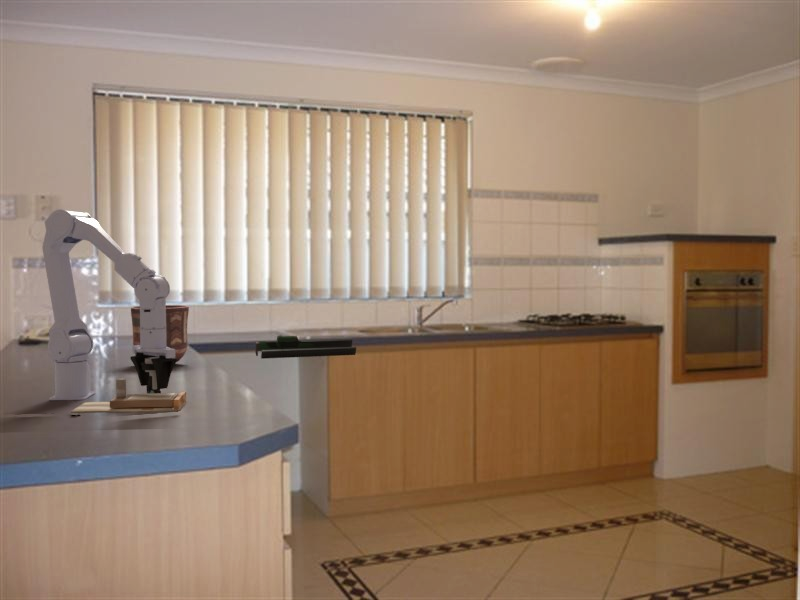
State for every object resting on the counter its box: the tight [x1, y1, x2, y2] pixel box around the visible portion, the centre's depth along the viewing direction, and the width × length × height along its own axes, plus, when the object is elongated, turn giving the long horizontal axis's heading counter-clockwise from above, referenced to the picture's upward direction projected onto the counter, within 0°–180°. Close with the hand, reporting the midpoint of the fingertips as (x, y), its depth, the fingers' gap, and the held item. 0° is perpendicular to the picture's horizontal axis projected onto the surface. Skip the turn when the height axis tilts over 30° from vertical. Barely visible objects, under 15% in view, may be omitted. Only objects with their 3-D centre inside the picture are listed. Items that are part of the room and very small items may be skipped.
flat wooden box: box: [70, 391, 187, 414], centre depth 172 cm, size 11×22×3 cm, turn 97°
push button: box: [141, 357, 162, 394], centre depth 183 cm, size 7×5×10 cm
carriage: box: [109, 378, 179, 408], centre depth 172 cm, size 8×13×6 cm, turn 97°
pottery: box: [130, 304, 190, 363], centre depth 256 cm, size 18×18×18 cm
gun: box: [254, 334, 357, 360], centre depth 270 cm, size 6×35×8 cm, turn 110°
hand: (153, 386), depth 183 cm, fingers open, 6 cm apart
